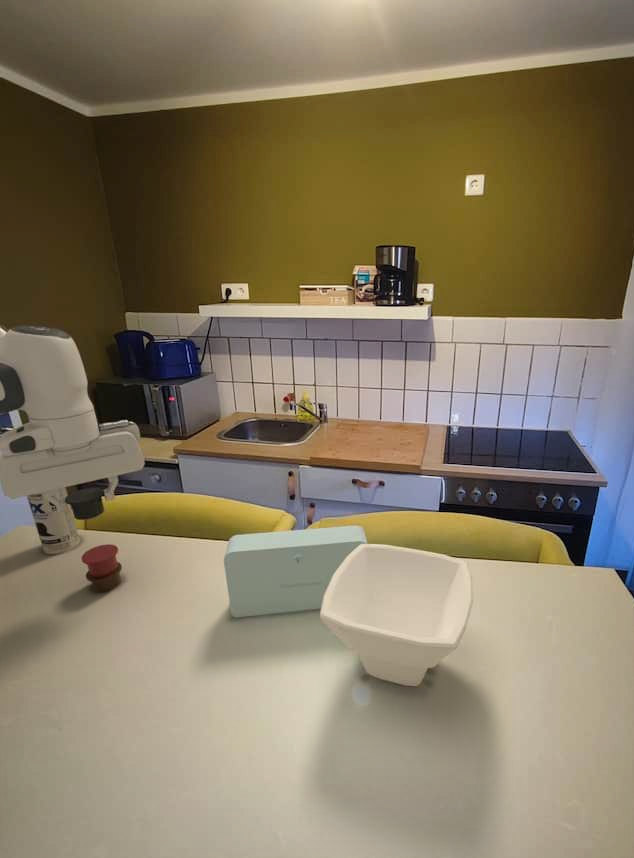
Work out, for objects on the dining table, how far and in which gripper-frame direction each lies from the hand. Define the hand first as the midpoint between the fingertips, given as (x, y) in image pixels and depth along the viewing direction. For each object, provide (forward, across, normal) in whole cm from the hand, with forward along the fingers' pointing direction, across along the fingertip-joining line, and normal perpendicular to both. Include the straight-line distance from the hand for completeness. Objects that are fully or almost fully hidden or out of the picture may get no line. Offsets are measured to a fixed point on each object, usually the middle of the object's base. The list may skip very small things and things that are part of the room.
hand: (87, 505), depth 74 cm
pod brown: (+17, 0, 0) cm, 17 cm away
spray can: (+17, +6, -21) cm, 28 cm away
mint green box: (+18, -27, +26) cm, 41 cm away
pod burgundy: (+14, 0, 0) cm, 14 cm away
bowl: (+18, -32, +46) cm, 59 cm away
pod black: (+2, 0, 0) cm, 2 cm away
